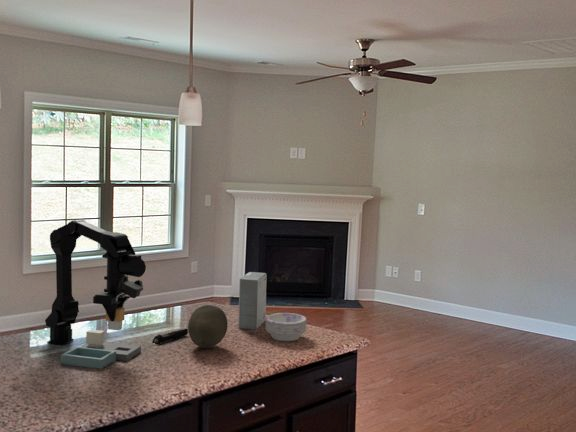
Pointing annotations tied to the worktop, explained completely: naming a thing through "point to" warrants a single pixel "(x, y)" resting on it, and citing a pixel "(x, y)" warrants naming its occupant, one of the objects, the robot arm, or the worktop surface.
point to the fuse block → (119, 350)
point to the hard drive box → (252, 300)
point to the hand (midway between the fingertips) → (114, 319)
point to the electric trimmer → (170, 336)
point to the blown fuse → (116, 319)
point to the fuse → (95, 338)
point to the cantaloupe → (207, 326)
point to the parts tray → (88, 357)
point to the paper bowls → (285, 326)
